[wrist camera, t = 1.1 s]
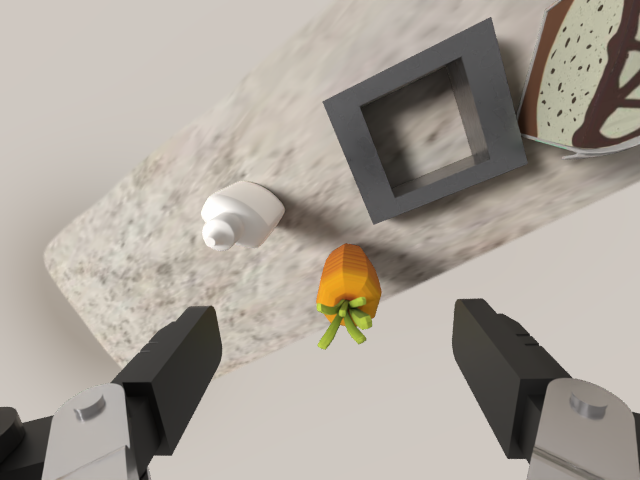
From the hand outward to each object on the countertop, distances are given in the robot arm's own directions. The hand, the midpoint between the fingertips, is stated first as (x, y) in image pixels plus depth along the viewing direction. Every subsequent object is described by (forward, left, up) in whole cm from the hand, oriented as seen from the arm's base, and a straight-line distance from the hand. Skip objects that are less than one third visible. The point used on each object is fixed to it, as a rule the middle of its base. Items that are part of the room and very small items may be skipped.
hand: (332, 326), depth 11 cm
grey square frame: (-8, -3, -22) cm, 24 cm away
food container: (-21, -2, -22) cm, 30 cm away
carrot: (+2, +5, -22) cm, 23 cm away
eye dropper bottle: (+8, -3, -22) cm, 24 cm away
